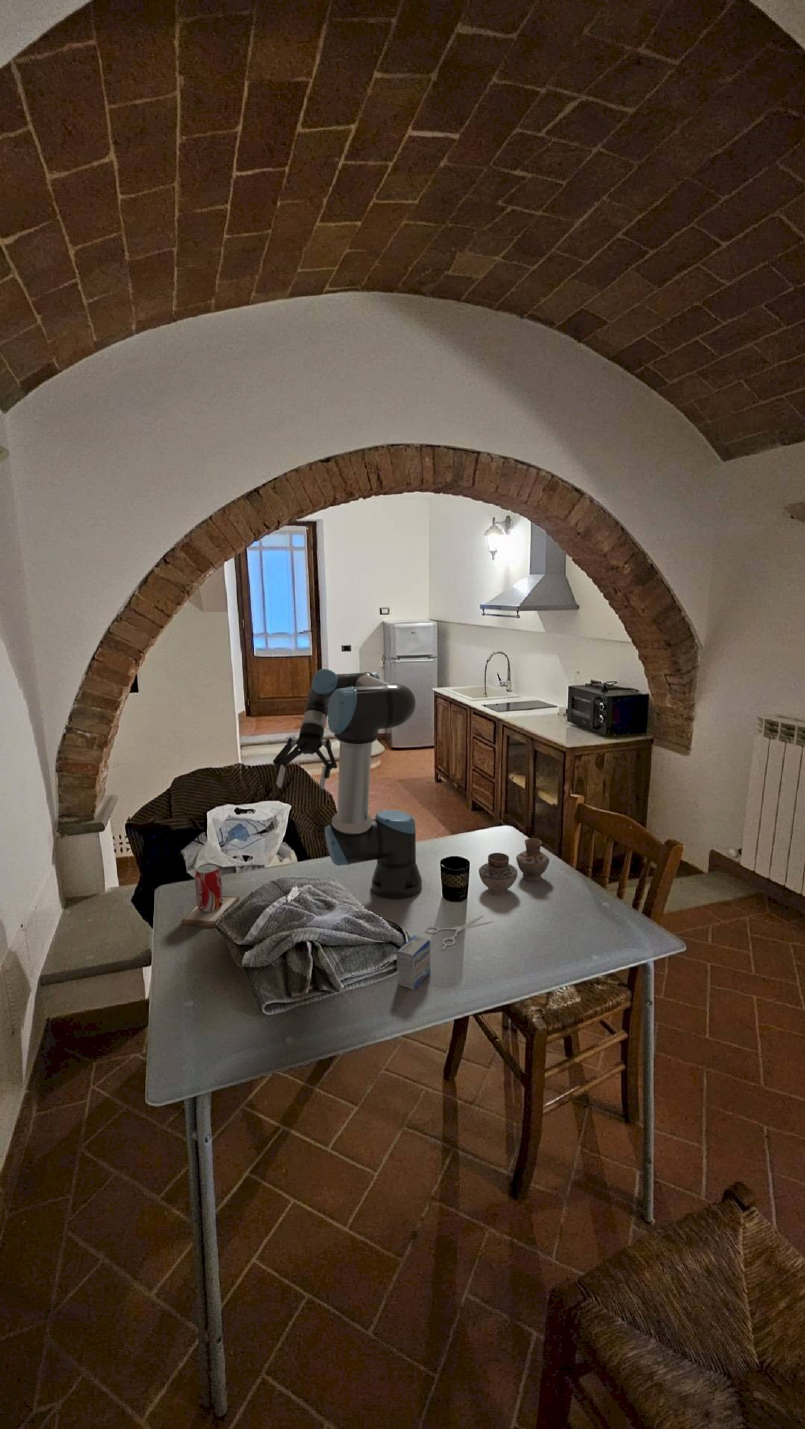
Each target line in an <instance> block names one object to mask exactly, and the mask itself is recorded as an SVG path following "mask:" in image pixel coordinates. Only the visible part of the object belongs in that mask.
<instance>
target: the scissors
mask: <svg viewBox="0 0 805 1429" xmlns="http://www.w3.org/2000/svg"><path fill="white" fill-rule="evenodd" d="M483 916H485V915H484V914H483V915H481V916H479V917H477V918H475V919H472V920H471V921H469V922H467V923H465V924H464V925H458V926H454V927H442V928H440V927H437V926H429V927H426V928H425V930H424V931H425V933H426V934H430V935H434V934H438V933H439V932H440V931H444V930H445V931H455V934H454V935H453V936H450V937H445V938H444V939H443V940H442V945H443V947H442V948H441V951H446V948H448V947H451V946H452V947H453V946H454V945H455V943H456V940H455V938H457V937H458V934H459V933H461V932H462V931H464V930H467V929H470V928H474V927H475V928H476V927H478V926H483V925H487V924H491V923H493V922H495V921H488V922H487V921H486V922H481V923H477V924H474V923H475V922H477V921H478V920H480V919H481V918H482V917H483ZM430 929H435V930H434V931H428V930H430ZM446 941H452V942H451V943H446Z"/></svg>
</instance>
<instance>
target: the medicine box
mask: <svg viewBox="0 0 805 1429" xmlns="http://www.w3.org/2000/svg"><path fill="white" fill-rule="evenodd" d="M396 971H397V972H396V973H397V974H396V975H397V985H398V984H399V985H398V986H401V987H403V986H404V988H406V987H409V988H411V989H410V990H412V989H414V988H415V987H416V988H417V987H418V986H419V985H420V984H421V983H422V982H423V981H424V980H425V979H424V978H425V977H426V976H427V977H428V976H429V974H431V940H430V939H428V938H426V937H423V936H420V935H417V934H415V935H413V936H412V937H411V938H410V939H409V940H408V941H407V942H405V943H404V944H403V945H402V946H401V947H400V948H399V949H398V950H396ZM427 977H426V978H427ZM423 979H424V980H423ZM421 981H422V982H421ZM420 982H421V983H420ZM418 984H419V985H418ZM417 985H418V986H417ZM409 988H408V989H409ZM416 988H415V989H416ZM415 989H414V990H415Z"/></svg>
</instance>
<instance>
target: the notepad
mask: <svg viewBox="0 0 805 1429" xmlns="http://www.w3.org/2000/svg"><path fill="white" fill-rule="evenodd" d="M237 902H238V903H239V902H240V896H227V895H223V905H222V906H221V907H220V908H219V909H218V910H216V911H213V912H203V911H201V910H199V909H198V905H197V904H196V905H195V906H194V908H192V910H191V911H190V912H188V913H187V914H186V916H184V918H182V919H181V921H180V923H181V925H185V926H194V927H195V926H196V927H206V928H207V927H209V928H217V927H216V923H217V922H218V920H219V918H220V917H222V914H223V913H224V911H225V910H226V909H228V908H229V907H231V906H233V905H235V904H236V903H237ZM238 903H237V904H238ZM237 904H236V905H237ZM236 905H235V906H236Z"/></svg>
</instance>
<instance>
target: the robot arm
mask: <svg viewBox="0 0 805 1429" xmlns="http://www.w3.org/2000/svg"><path fill="white" fill-rule="evenodd" d="M415 697H416V696H415V695H414V692H413V691H412V689H410V688H409V687H407V686H406V685H403V684H401V683H396V682H395V683H392V682H391V683H388V682H387V681H385V680H382V679H380V676H379V673H377V672H375V671H374V672H373V671H364V672H355V673H336V672H335V671H333V670H332V669H328V668H321V669H319V670H318V671H316V672H315V674H314V676H313V678H312V680H311V685H310V689H309V692H308V695H307V699H306V700H307V701H306V705H305V710H304V714H303V718H302V722H301V727H300V729H299V730H300V731H299V735H298V738H297V740H296V739H293V738H291V737H290V738H288V739H287V742H286V744H285V745H284V747H282V749H281V750H280V751H279V753H278V754H277V755H276V757H275V758H274V759H273V761H272V763H273V764H274V766H275V767H277V768H276V772H275V774H276V777H277V779H276V785H277V787H278V788H280V789H281V788H282V787H283V783H284V777H285V772H286V769H287V768H286V767H287V765H289V764H290V763H291V762H292V761H294V760H295V759H296V758H297V757H298V756H301V755H302V754H303V755H308V754H309V755H314V754H316V755H317V757H318V758H319V760H320V761H321V762H322V763H323V766H322V770H321V775H320V779H319V784H318V786H319V788H320V789H321V790H324V789H325V785H326V784H325V783H326V780H327V779H329V778H330V775H331V770H332V769H337V768H338V785H337V786H338V787H337V789H338V790H337V813H335V814H334V815H333V816H332V818H331V824H329V825H327V826H325V827H324V836H325V843H326V847H327V851H328V854H329V857H330V859H331V862H332V863H333V864H334V865H335V866H338V867H339V866H350V865H352V864H359V863H364V862H370V861H375V860H376V865H375V869H374V873H373V876H372V878H371V890H372V891H373V893H374V894H375V895H377V896H379V897H382V898H384V899H385V898H386V899H393V900H396V899H405V898H410V897H413V896H415V895H417V894H419V892H421V890H422V889H423V880H422V877H421V874H420V871H419V868H418V865H417V863H416V861H417V858H416V856H417V852H416V850H417V849H416V848H417V847H416V845H417V844H416V843H417V842H416V841H417V840H416V839H417V838H416V837H417V836H416V833H417V830H416V822H415V821H416V820H415V818H414V816H412V815H410V814H409V813H407V812H404V811H401V810H394V809H384V810H380V811H377V812H376V814H375V818H374V819H373V818H372V816H371V815H370V814H369V799H370V783H371V782H370V779H371V762H372V751H373V750H372V746H373V743H375V742H376V741H377V740H378V738H379V730H383V729H384V730H386V729H393V728H395V727H399V726H401V725H404V724H405V723H406V722H407V721H409V719H410V718H411V717H412V716H413V714H414V712H415V709H416V698H415ZM327 724H328V728H329V731H330V732H331V733H332V734H334V737H335V739H336V740H337V741H338V742H339V754H338V755H339V756H338V757H339V758H338V764H337V762H336V759H335V757H334V753H333V750H332V742H331V741H330V739H329V738H327V739H326V740H324V739H323V738H324V734H325V729H326V725H327ZM323 746H324V748H325V749H326V751H327V754H328V756H329V760H330V762H329V761H328V760H327V758H326V757H325V756H324V754H323V753H322V752H321V750H320V749H321V748H322V747H323Z"/></svg>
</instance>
